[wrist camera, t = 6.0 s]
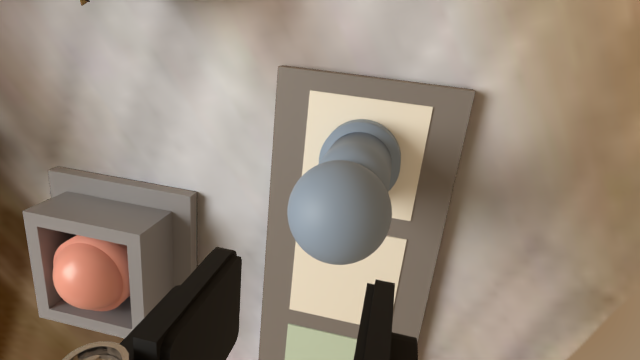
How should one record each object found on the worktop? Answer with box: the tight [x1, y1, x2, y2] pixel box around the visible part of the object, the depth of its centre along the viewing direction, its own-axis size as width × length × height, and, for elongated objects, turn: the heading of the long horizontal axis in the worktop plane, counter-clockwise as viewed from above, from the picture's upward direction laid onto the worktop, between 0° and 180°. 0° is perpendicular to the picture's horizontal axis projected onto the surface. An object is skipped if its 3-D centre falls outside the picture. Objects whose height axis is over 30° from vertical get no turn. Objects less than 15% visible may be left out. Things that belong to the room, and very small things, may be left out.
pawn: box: [287, 119, 401, 265], centre depth 21 cm, size 5×5×11 cm
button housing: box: [23, 167, 197, 338], centre depth 32 cm, size 12×12×5 cm
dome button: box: [53, 235, 130, 311], centre depth 31 cm, size 6×6×6 cm
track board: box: [259, 65, 475, 360], centre depth 30 cm, size 28×12×1 cm, turn 174°
